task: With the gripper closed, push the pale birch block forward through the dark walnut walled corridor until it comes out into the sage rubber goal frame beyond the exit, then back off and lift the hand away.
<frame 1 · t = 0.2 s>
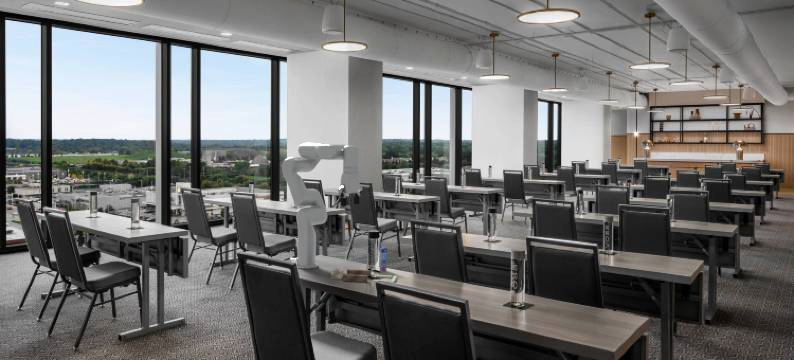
hand: (350, 205, 287), 36 cm above the table, tool pointing down, fingers open, 9 cm apart
ink cartridge box: (376, 270, 307), on the table
goal frame: (382, 279, 287), on the table
birch block: (337, 277, 289), on the table
corridor: (357, 278, 288), on the table
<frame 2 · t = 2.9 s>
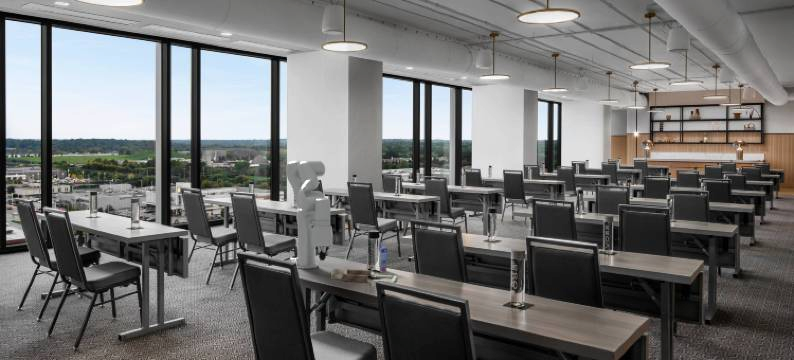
hand: (322, 260, 288), 9 cm above the table, tool pointing down, fingers closed
nothing on the table moved.
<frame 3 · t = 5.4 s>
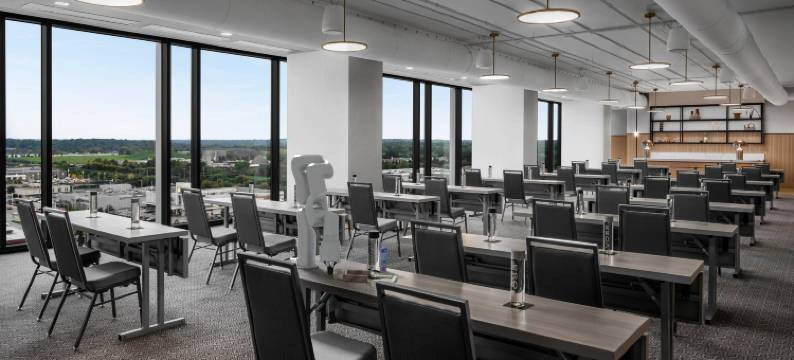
hand: (330, 274, 289), 1 cm above the table, tool pointing down, fingers closed
birch block: (339, 277, 289), on the table, touching gripper
everything else where it was.
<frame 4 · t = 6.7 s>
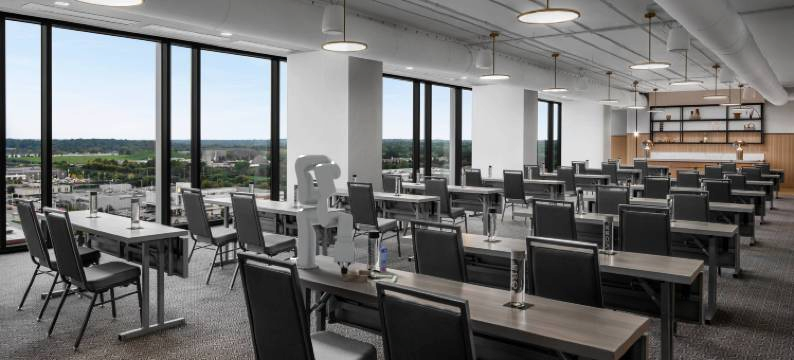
hand: (344, 275, 289), 1 cm above the table, tool pointing down, fingers closed
birch block: (353, 278, 288), on the table, touching gripper
everything else where it was.
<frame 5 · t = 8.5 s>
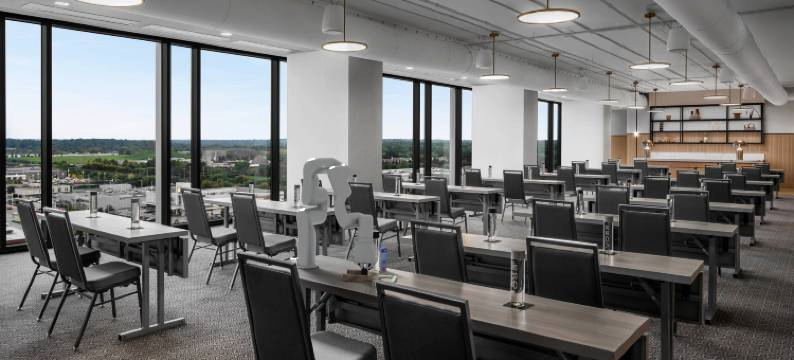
hand: (364, 276, 288), 1 cm above the table, tool pointing down, fingers closed
birch block: (373, 279, 287), on the table, touching gripper
everything else where it was.
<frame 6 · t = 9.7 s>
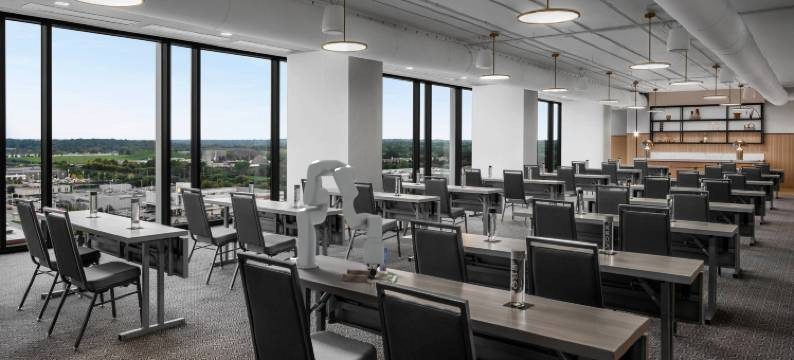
hand: (373, 276, 287), 1 cm above the table, tool pointing down, fingers closed
birch block: (382, 280, 287), on the table, touching gripper
everything else where it was.
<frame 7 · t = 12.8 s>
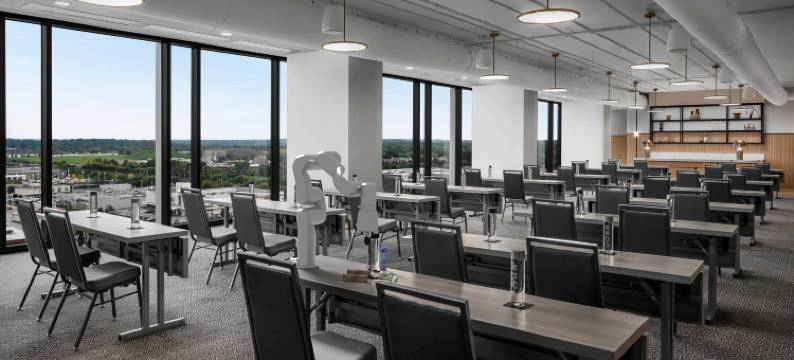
hand: (367, 244, 287), 17 cm above the table, tool pointing down, fingers closed
birch block: (384, 280, 287), on the table
everything else where it was.
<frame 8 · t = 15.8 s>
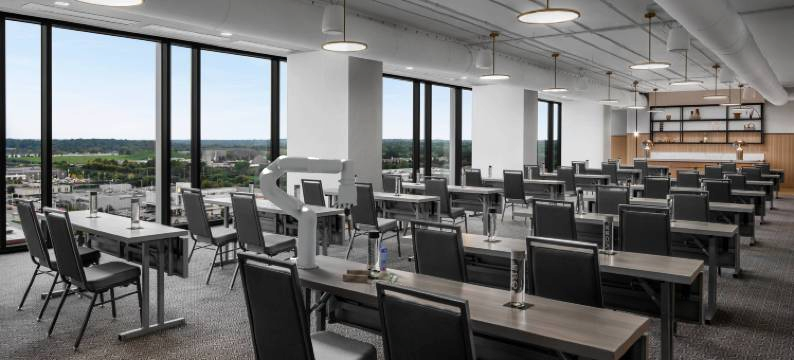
hand: (347, 215, 315), 27 cm above the table, tool pointing down, fingers closed
nothing on the table moved.
at the end: birch block inside the target area (0.5 cm from its centre), on the table; birch block tilted 0°; birch block touching table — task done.
